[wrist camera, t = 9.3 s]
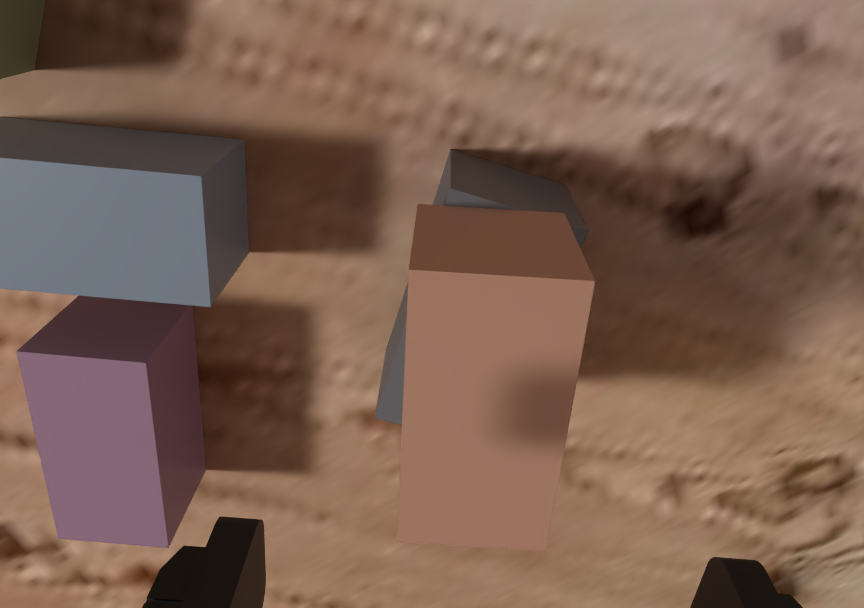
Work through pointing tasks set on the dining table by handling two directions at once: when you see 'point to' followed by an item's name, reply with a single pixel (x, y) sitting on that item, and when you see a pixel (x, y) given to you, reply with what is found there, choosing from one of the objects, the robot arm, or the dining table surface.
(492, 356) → the terracotta brick
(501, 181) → the charcoal brick
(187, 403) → the plum brick
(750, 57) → the dining table surface
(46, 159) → the slate blue brick
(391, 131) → the dining table surface
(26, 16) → the olive brick
